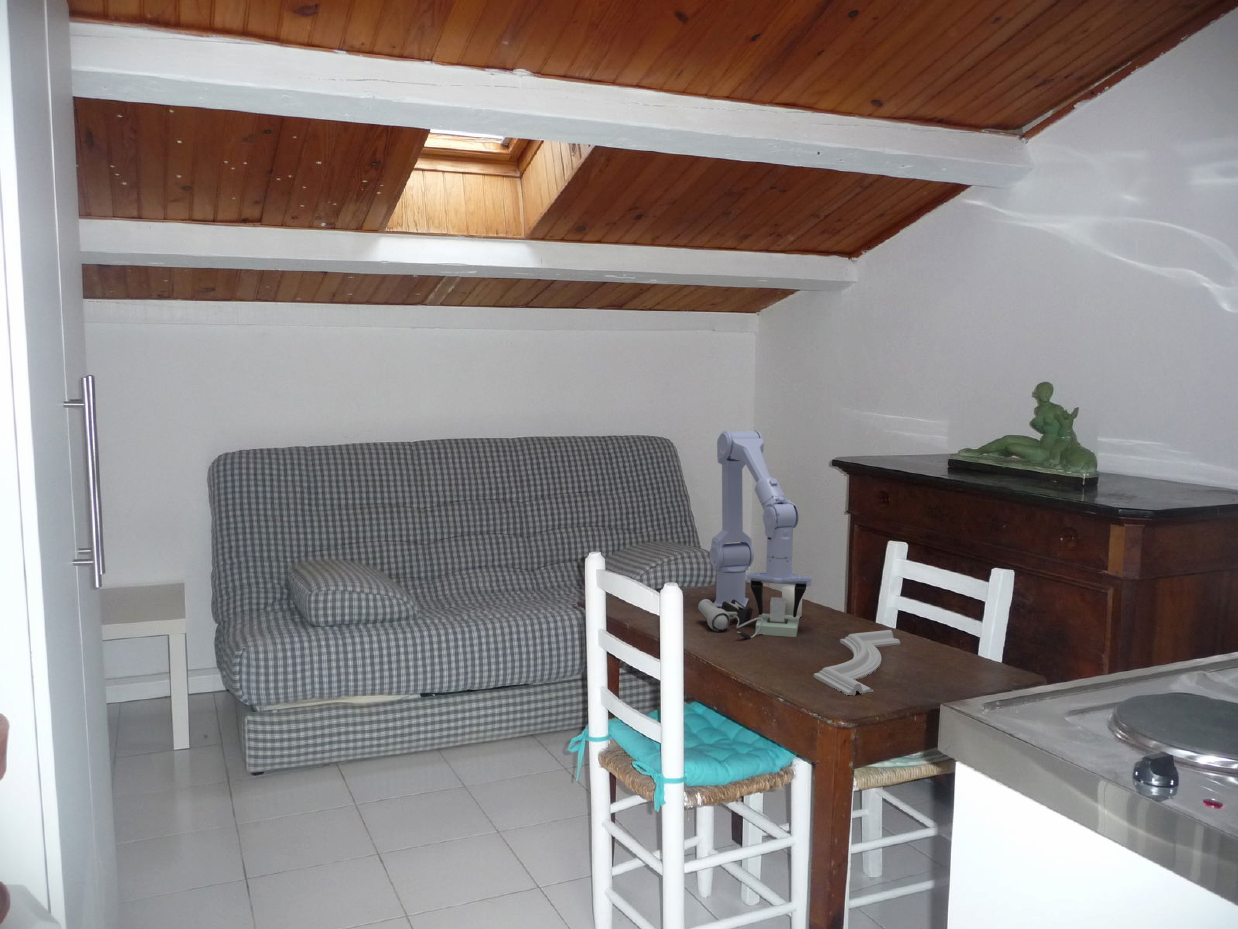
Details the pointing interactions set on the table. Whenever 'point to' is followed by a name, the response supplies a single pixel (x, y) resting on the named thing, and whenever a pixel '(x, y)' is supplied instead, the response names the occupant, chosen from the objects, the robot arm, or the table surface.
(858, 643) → the molding
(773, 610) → the steel square peg
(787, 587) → the cream round peg
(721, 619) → the clip-on lamp
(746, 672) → the table surface
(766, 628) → the socket board
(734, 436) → the robot arm
